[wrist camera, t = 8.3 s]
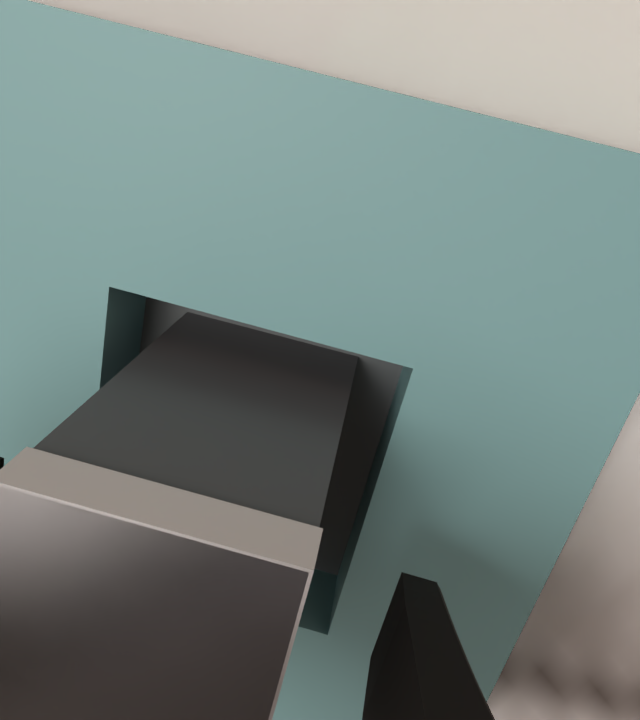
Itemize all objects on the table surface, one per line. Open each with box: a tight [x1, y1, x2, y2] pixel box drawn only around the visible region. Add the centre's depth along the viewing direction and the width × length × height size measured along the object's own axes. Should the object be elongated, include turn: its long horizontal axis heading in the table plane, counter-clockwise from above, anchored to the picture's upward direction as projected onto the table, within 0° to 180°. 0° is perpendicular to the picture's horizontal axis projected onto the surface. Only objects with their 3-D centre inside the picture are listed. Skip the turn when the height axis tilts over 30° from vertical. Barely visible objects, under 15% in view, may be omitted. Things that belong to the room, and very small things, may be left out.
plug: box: [0, 312, 358, 720], centre depth 12 cm, size 4×5×7 cm
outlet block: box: [0, 0, 640, 720], centre depth 14 cm, size 14×16×2 cm
